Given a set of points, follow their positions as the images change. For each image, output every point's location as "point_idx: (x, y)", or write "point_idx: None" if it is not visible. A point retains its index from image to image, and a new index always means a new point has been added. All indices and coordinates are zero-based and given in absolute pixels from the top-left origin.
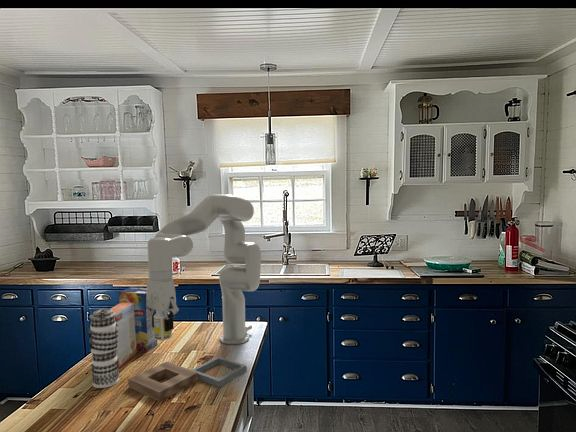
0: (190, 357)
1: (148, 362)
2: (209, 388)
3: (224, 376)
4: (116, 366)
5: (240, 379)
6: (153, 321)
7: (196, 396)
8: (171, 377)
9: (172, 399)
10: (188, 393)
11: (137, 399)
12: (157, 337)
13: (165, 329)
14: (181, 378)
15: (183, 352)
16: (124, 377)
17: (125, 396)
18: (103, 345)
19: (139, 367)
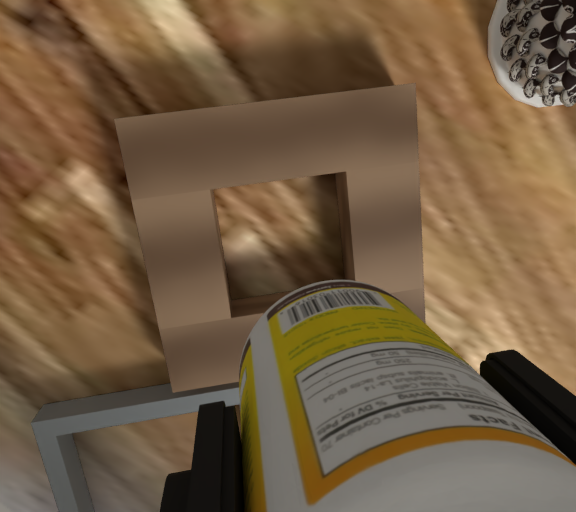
0: None
1: (553, 304)
2: (67, 366)
3: (60, 467)
4: (569, 70)
5: (39, 508)
6: (546, 410)
7: (38, 280)
8: None
9: (99, 180)
10: (97, 269)
11: (240, 50)
12: (312, 293)
13: (205, 417)
14: (177, 297)
15: None
16: (514, 133)
17: (321, 22)
18: None
19: (545, 245)
